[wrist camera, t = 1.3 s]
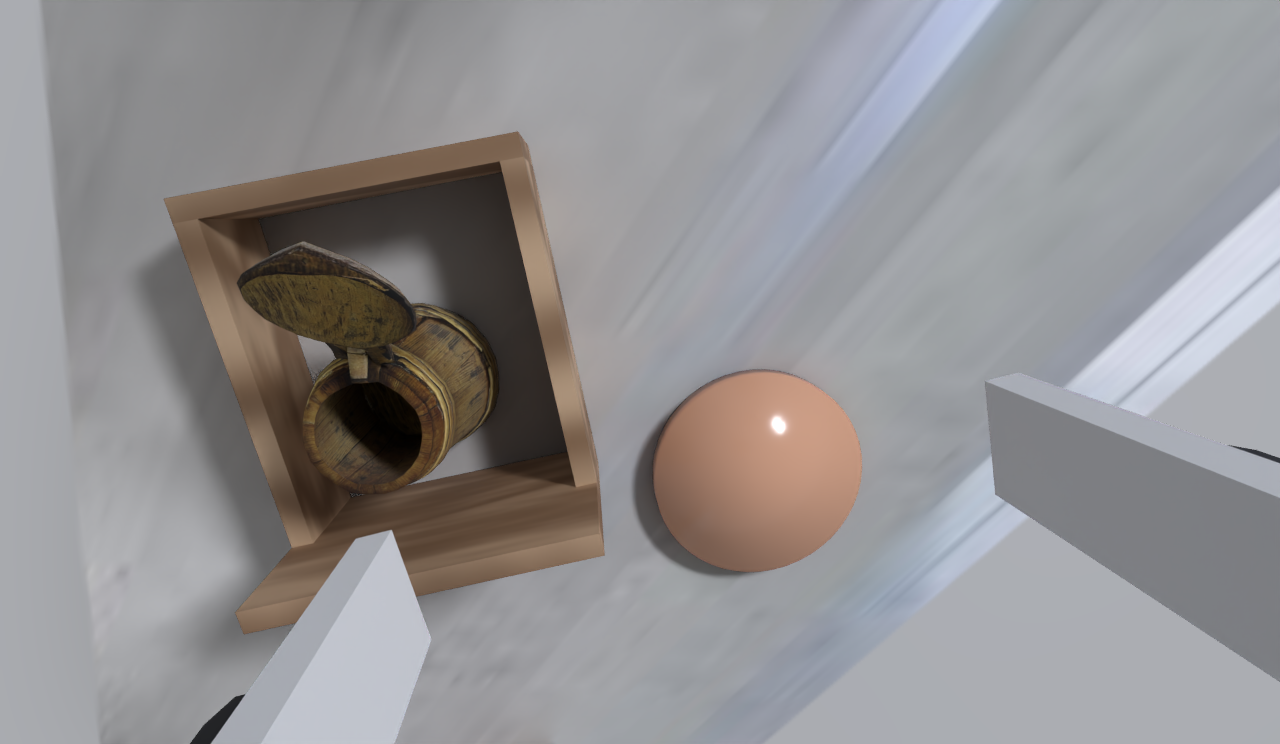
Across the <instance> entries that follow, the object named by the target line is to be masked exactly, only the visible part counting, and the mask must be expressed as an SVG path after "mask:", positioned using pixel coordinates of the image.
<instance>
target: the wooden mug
mask: <svg viewBox="0 0 1280 744" xmlns="http://www.w3.org/2000/svg"><path fill="white" fill-rule="evenodd" d="M237 285H238V287H239V290H240V292H241V294H242V297H243V299H244V301H245V302H246V303H247V304H248V305H249V306H250V307H251V308H252V309H253V310H254V311H256V312H257V313H258V314H259V315H260V316H262V317H263V318H264V319H265V320H267V321H269V322H271V323H273V324H275V325H277V326H279V327H281V328H283V329H285V330H288V331H290V332H292V333H295V334H297V335H300V336H304V337H307V338H311V339H314V340H317V341H321V342H325V343H326V344H327V345H328V346H329V347H330V348H331V349H332V351H333V353H334V355H335V358H337V359H335V360H334V361H332V362H331V363H330V364H329V365H328V366H327V367H326V368H325V369H324V370H323V371H322V372H321V373H320V374H319V376H318V378H317V380H316V382H315V385H314V387H313V389H312V391H311V393H310V396H309V398H308V401H307V405H306V408H305V410H304V417H303V424H302V426H303V443H304V446H305V449H306V451H307V454H308V457H309V460H310V462H311V463H312V464H313V465H314V466H315V468H316V469H317V470H318V471H319V472H320V473H321V474H322V475H324V476H325V477H326V478H328V479H329V480H330V481H332V482H333V483H334V484H336V485H338V486H339V487H341V488H343V489H345V490H347V491H349V492H351V493H358V494H386V493H389V492H392V491H396V490H399V489H401V488H402V487H404V486H406V485H408V484H411V483H413V482H415V481H417V480H419V479H421V478H423V477H425V476H426V475H428V474H429V473H430V472H432V471H433V470H434V469H435V468H436V467H437V466H438V465H439V464H440V463H441V462H442V461H443V459H444V458H445V456H446V454H447V452H448V451H449V449H450V448H451V447H452V446H453V445H455V444H456V443H457V442H459V441H461V440H463V439H465V438H467V437H468V436H470V435H471V434H473V433H474V432H475V431H476V430H477V429H478V428H479V427H480V426H481V425H482V424H483V423H484V422H486V420H487V419H488V417H489V416H490V414H491V413H492V411H493V409H494V408H495V405H496V401H497V396H498V392H499V377H498V368H497V364H496V359H495V357H494V354H493V352H492V350H491V348H490V346H489V344H488V342H487V340H486V338H485V337H484V336H483V335H482V334H481V333H480V332H479V330H478V329H477V328H476V327H475V326H474V325H473V324H472V323H471V322H469V321H468V320H466V319H464V318H462V317H461V316H459V315H457V314H455V313H454V312H451V311H449V310H446V309H443V308H440V307H437V306H434V305H429V304H424V303H416V304H410V302H409V301H408V300H407V298H406V297H405V296H404V295H403V293H402V292H401V291H400V290H399V289H398V288H397V287H396V286H395V285H393V284H392V283H391V282H389V281H388V280H387V279H386V278H384V277H382V276H381V275H379V274H378V273H376V272H375V271H373V270H372V269H370V268H368V267H366V266H364V265H362V264H361V263H359V262H357V261H355V260H353V259H351V258H348V257H345V256H343V255H340V254H337V253H334V252H332V251H329V250H326V249H323V248H321V247H318V246H315V245H312V244H310V243H307V242H304V241H303V242H300V243H297V244H295V245H292V246H289V247H287V248H284V249H282V250H280V251H278V252H276V253H274V254H272V255H271V256H269V257H267V258H265V259H264V260H262V261H260V262H258V263H257V264H255V265H254V266H252V267H251V268H249V269H248V270H246V271H245V272H243V273H242V274H241V276H240V278H239V279H238V281H237Z"/></svg>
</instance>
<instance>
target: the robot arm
mask: <svg viewBox="0 0 1280 744" xmlns="http://www.w3.org/2000/svg"><path fill="white" fill-rule="evenodd" d="M985 389H986V399H987V410H988V421H989V431H990V442H991V453H992V463H993V474H994V485H995V494H996V495H997V496H999V497H1000V498H1002V499H1003V500H1005V501H1006V502H1008V503H1009V504H1011V505H1012V506H1014V507H1015V508H1017V509H1018V510H1020V511H1021V512H1023V513H1024V514H1026V515H1027V516H1029V517H1030V518H1032V519H1033V520H1035V521H1037V522H1038V523H1040V524H1041V525H1043V526H1044V527H1046V528H1047V529H1049V530H1050V531H1052V532H1053V533H1055V534H1056V535H1058V536H1059V537H1061V538H1062V539H1064V540H1065V541H1067V542H1068V543H1070V544H1071V545H1073V546H1075V547H1076V548H1078V549H1079V550H1080V551H1082V552H1084V553H1085V554H1087V555H1088V556H1090V557H1091V558H1093V559H1095V560H1096V561H1097V562H1099V563H1100V564H1102V565H1103V566H1105V567H1106V568H1108V569H1109V570H1111V571H1112V572H1114V573H1115V574H1117V575H1119V576H1120V577H1121V578H1123V579H1125V580H1126V581H1128V582H1129V583H1131V584H1132V585H1134V586H1135V587H1137V588H1138V589H1140V590H1141V591H1143V592H1144V593H1146V594H1147V595H1149V596H1150V597H1152V598H1154V599H1155V600H1157V601H1158V602H1159V603H1161V604H1162V605H1164V606H1166V607H1167V608H1169V609H1170V610H1172V611H1173V612H1175V613H1176V614H1178V615H1179V616H1181V617H1182V618H1184V619H1185V620H1187V621H1188V622H1190V623H1191V624H1193V625H1194V626H1196V627H1197V628H1199V629H1200V630H1202V631H1203V632H1205V633H1207V634H1208V635H1209V636H1211V637H1213V638H1214V639H1216V640H1217V641H1219V642H1220V643H1222V644H1223V645H1225V646H1226V647H1228V648H1229V649H1231V650H1232V651H1234V652H1235V653H1237V654H1238V655H1240V656H1241V657H1243V658H1244V659H1246V660H1247V661H1249V662H1251V663H1252V664H1253V665H1255V666H1257V667H1258V668H1260V669H1261V670H1263V671H1264V672H1266V673H1267V674H1269V675H1270V676H1272V677H1273V678H1275V679H1276V680H1278V681H1279V682H1280V458H1278V457H1275V456H1271V455H1269V454H1266V453H1263V452H1260V451H1257V450H1252V449H1247V448H1241V447H1236V446H1230V445H1225V444H1222V443H1219V442H1217V441H1214V440H1211V439H1208V438H1205V437H1202V436H1199V435H1196V434H1193V433H1191V432H1188V431H1185V430H1182V429H1179V428H1176V427H1173V426H1171V425H1168V424H1165V423H1162V422H1159V421H1156V420H1153V419H1150V418H1147V417H1145V416H1142V415H1139V414H1136V413H1133V412H1130V411H1127V410H1124V409H1122V408H1119V407H1116V406H1113V405H1110V404H1107V403H1104V402H1101V401H1098V400H1096V399H1093V398H1090V397H1087V396H1084V395H1081V394H1078V393H1075V392H1072V391H1070V390H1067V389H1064V388H1061V387H1058V386H1055V385H1052V384H1049V383H1047V382H1044V381H1041V380H1038V379H1035V378H1032V377H1029V376H1026V375H1023V374H1021V373H1015V374H1011V375H1007V376H1003V377H999V378H995V379H991V380H987V381H985ZM430 642H431V637H430V634H429V632H428V629H427V626H426V623H425V621H424V618H423V615H422V612H421V609H420V607H419V604H418V601H417V598H416V596H415V593H414V590H413V587H412V585H411V582H410V579H409V576H408V574H407V571H406V568H405V565H404V563H403V560H402V557H401V554H400V552H399V549H398V546H397V543H396V541H395V538H394V535H393V532H392V530H389V531H385V532H381V533H377V534H373V535H369V536H365V537H361V538H357V539H355V541H354V542H353V543H352V545H351V546H350V548H349V549H348V550H347V552H346V553H345V555H344V556H343V558H342V559H341V560H340V562H339V563H338V565H337V566H336V567H335V569H334V570H333V572H332V573H331V574H330V576H329V577H328V579H327V580H326V582H325V583H324V584H323V586H322V587H321V589H320V590H319V591H318V593H317V594H316V596H315V597H314V599H313V600H312V601H311V603H310V604H309V606H308V607H307V608H306V610H305V611H304V613H303V614H302V615H301V617H300V618H299V620H298V621H297V623H296V624H295V625H294V627H293V628H292V630H291V631H290V632H289V634H288V635H287V637H286V638H285V640H284V641H283V642H282V644H281V645H280V647H279V648H278V649H277V651H276V652H275V654H274V655H273V657H272V658H271V659H270V661H269V662H268V664H267V665H266V666H265V668H264V669H263V671H262V672H261V673H260V675H259V676H258V678H257V679H256V681H255V682H254V683H253V685H252V686H251V688H250V689H249V690H248V692H247V693H246V694H245V695H241V696H237V697H235V698H233V699H232V700H231V701H230V702H229V703H228V704H227V705H226V706H224V707H223V708H222V709H221V710H220V711H219V712H218V713H217V714H216V715H214V716H213V717H212V718H211V719H210V720H209V721H208V722H207V723H206V724H204V726H203V727H202V728H201V730H200V731H199V732H198V734H197V735H196V736H195V738H194V739H193V740H192V742H191V743H190V744H394V743H395V740H396V738H397V735H398V732H399V729H400V726H401V724H402V721H403V718H404V715H405V712H406V710H407V707H408V704H409V701H410V698H411V696H412V693H413V690H414V687H415V684H416V681H417V679H418V676H419V673H420V670H421V667H422V665H423V662H424V659H425V656H426V653H427V651H428V648H429V645H430Z"/></svg>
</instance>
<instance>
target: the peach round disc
mask: <svg viewBox="0 0 1280 744" xmlns="http://www.w3.org/2000/svg"><path fill="white" fill-rule="evenodd" d="M861 473H862V455H861V449H860V444H859V440H858V437H857V434H856V431H855V429H854V427H853V425H852V423H851V421H850V419H849V418H848V416H847V415H846V414H845V412H844V411H843V409H842V408H841V407H840V406H839V405H838V404H837V403H836V402H835V401H834V400H833V399H832V398H831V397H830V396H828V395H827V394H826V393H824V392H823V391H822V390H820V389H819V388H818V387H816V386H815V385H813V384H811V383H810V382H808V381H806V380H805V379H802V378H800V377H797V376H795V375H793V374H789V373H785V372H781V371H775V370H766V369H762V370H746V371H739V372H735V373H732V374H728V375H725V376H722V377H720V378H718V379H715V380H713V381H711V382H709V383H707V384H706V385H704V386H702V387H700V388H699V389H698V390H696V391H695V392H694V393H692V394H691V395H690V396H689V397H688V398H687V399H685V400H684V401H683V402H682V403H681V404H680V405H679V406H678V408H677V409H676V410H675V411H674V413H673V414H672V415H671V417H670V418H669V420H668V421H667V423H666V425H665V426H664V428H663V430H662V433H661V435H660V437H659V439H658V443H657V446H656V449H655V453H654V460H653V485H654V492H655V495H656V499H657V503H658V506H659V510H660V513H661V515H662V518H663V520H664V522H665V524H666V526H667V527H668V529H669V530H670V532H671V534H672V535H673V536H674V537H675V539H676V540H677V541H678V542H679V543H680V544H681V545H682V546H683V547H684V548H685V549H686V550H688V551H689V552H690V553H691V554H693V555H694V556H696V557H697V558H699V559H701V560H703V561H705V562H707V563H709V564H711V565H714V566H717V567H720V568H723V569H728V570H733V571H742V572H759V571H767V570H773V569H777V568H780V567H784V566H787V565H790V564H792V563H794V562H797V561H799V560H801V559H803V558H805V557H806V556H808V555H810V554H812V553H813V552H814V551H816V550H817V549H819V548H820V547H821V546H822V545H824V544H825V543H826V542H827V541H828V540H829V539H830V538H831V537H832V536H833V535H834V534H835V533H836V532H837V530H838V529H839V528H840V527H841V525H842V524H843V522H844V521H845V520H846V518H847V517H848V515H849V513H850V511H851V509H852V507H853V505H854V502H855V500H856V497H857V494H858V491H859V486H860V482H861Z"/></svg>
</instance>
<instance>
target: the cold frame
mask: <svg viewBox="0 0 1280 744" xmlns="http://www.w3.org/2000/svg"><path fill="white" fill-rule="evenodd" d="M499 172H502V173H503V177H504V181H505V186H506V190H507V194H508V198H509V203H510V207H511V211H512V215H513V220H514V224H515V228H516V233H517V237H518V241H519V245H520V250H521V254H522V258H523V263H524V267H525V271H526V275H527V280H528V284H529V288H530V292H531V297H532V301H533V305H534V310H535V314H536V318H537V322H538V327H539V331H540V335H541V339H542V344H543V348H544V352H545V357H546V361H547V365H548V369H549V374H550V378H551V382H552V387H553V391H554V395H555V399H556V404H557V408H558V412H559V416H560V421H561V425H562V429H563V434H564V438H565V442H566V446H567V451H568V452H564V453H559V454H554V455H550V456H545V457H540V458H535V459H531V460H526V461H521V462H516V463H512V464H507V465H502V466H497V467H493V468H488V469H483V470H479V471H474V472H469V473H464V474H460V475H455V476H450V477H445V478H441V479H436V480H431V481H427V482H422V483H417V484H412V485H408V486H404V487H402V488H401V489H399V490H396V491H392V492H389V493H386V494H365V495H360V496H356V497H351V496H350V493H349V491H347V490H345V489H343V488H341V487H339V486H338V485H336V484H334V483H333V482H332V481H330V480H329V479H328V478H326V477H325V476H324V475H322V474H321V473H320V472H319V471H318V470H317V469H316V468H315V466H314V465H313V464H312V463H311V462H310V460H309V457H308V454H307V451H306V449H305V446H304V443H303V426H302V424H303V417H304V410H305V408H306V405H307V401H308V398H309V396H310V393H311V391H312V389H313V387H314V385H313V382H312V379H311V376H310V373H309V370H308V367H307V364H306V361H305V358H304V355H303V352H302V349H301V346H300V343H299V340H298V337H297V334H295V333H292V332H290V331H288V330H285V329H283V328H281V327H279V326H277V325H275V324H273V323H271V322H269V321H267V320H265V319H264V318H263V317H262V316H260V315H259V314H258V313H257V312H256V311H254V310H253V309H252V308H251V307H250V306H249V305H248V304H247V303H246V302H245V301H244V299H243V297H242V294H241V292H240V290H239V287H238V285H237V281H238V279H239V278H240V276H241V274H242V273H243V272H245V271H246V270H248V269H249V268H251V267H252V266H254V265H255V264H257V263H258V262H260V261H262V260H264V259H265V258H267V257H269V256H270V253H269V250H268V247H267V244H266V241H265V238H264V235H263V232H262V229H261V226H260V223H259V220H258V219H260V218H265V217H270V216H275V215H281V214H286V213H291V212H296V211H302V210H307V209H312V208H317V207H322V206H328V205H333V204H338V203H343V202H348V201H354V200H359V199H364V198H369V197H374V196H380V195H385V194H390V193H395V192H400V191H406V190H411V189H416V188H421V187H426V186H432V185H437V184H442V183H447V182H453V181H458V180H463V179H468V178H473V177H479V176H484V175H489V174H494V173H499ZM164 201H165V204H166V207H167V209H168V212H169V215H170V217H171V220H172V223H173V226H174V228H175V231H176V234H177V236H178V239H179V242H180V245H181V247H182V250H183V253H184V256H185V258H186V261H187V264H188V266H189V269H190V272H191V275H192V277H193V280H194V283H195V285H196V288H197V291H198V294H199V296H200V299H201V302H202V305H203V307H204V310H205V313H206V315H207V318H208V321H209V324H210V326H211V329H212V332H213V334H214V337H215V340H216V343H217V345H218V348H219V351H220V353H221V356H222V359H223V362H224V364H225V367H226V370H227V373H228V375H229V378H230V381H231V383H232V386H233V389H234V392H235V394H236V397H237V400H238V402H239V405H240V408H241V411H242V413H243V416H244V419H245V421H246V424H247V427H248V430H249V432H250V435H251V438H252V441H253V443H254V446H255V449H256V451H257V454H258V457H259V460H260V462H261V465H262V468H263V470H264V473H265V476H266V479H267V481H268V484H269V487H270V489H271V492H272V495H273V498H274V500H275V503H276V506H277V509H278V511H279V514H280V517H281V519H282V522H283V525H284V528H285V530H286V533H287V536H288V538H289V541H290V544H291V547H292V548H291V549H290V551H289V552H288V553H287V554H286V555H285V556H284V557H283V559H282V560H281V561H280V562H279V563H278V564H277V565H276V567H275V568H274V569H273V570H272V571H271V572H270V573H269V575H268V576H267V577H266V578H265V579H264V580H263V581H262V583H261V584H260V585H259V586H258V587H257V588H256V589H255V591H254V592H253V593H252V594H251V595H250V596H249V597H248V598H247V600H246V601H245V602H244V603H243V604H242V605H241V606H240V608H239V609H238V610H237V611H236V612H235V614H236V616H237V619H238V621H239V623H240V626H241V628H242V631H243V633H244V634H248V633H252V632H257V631H261V630H266V629H270V628H275V627H280V626H284V625H289V624H293V623H297V621H298V620H299V618H300V617H301V615H302V614H303V613H304V611H305V610H306V608H307V607H308V606H309V604H310V603H311V601H312V600H313V599H314V597H315V596H316V594H317V593H318V591H319V590H320V589H321V587H322V586H323V584H324V583H325V582H326V580H327V579H328V577H329V576H330V574H331V573H332V572H333V570H334V569H335V567H336V566H337V565H338V563H339V562H340V560H341V559H342V558H343V556H344V555H345V553H346V552H347V550H348V549H349V548H350V546H351V545H352V543H353V542H354V541H355V539H357V538H361V537H365V536H369V535H373V534H377V533H381V532H385V531H389V530H392V532H393V535H394V538H395V541H396V543H397V546H398V549H399V552H400V554H401V557H402V560H403V563H404V565H405V568H406V571H407V574H408V576H409V579H410V582H411V585H412V587H413V590H414V593H415V596H416V597H417V596H421V595H426V594H431V593H435V592H440V591H444V590H449V589H453V588H458V587H463V586H467V585H472V584H476V583H481V582H485V581H490V580H495V579H499V578H504V577H508V576H513V575H517V574H522V573H527V572H531V571H536V570H540V569H545V568H549V567H554V566H559V565H563V564H568V563H572V562H577V561H581V560H586V559H591V558H595V557H600V556H604V540H603V525H602V511H601V496H600V481H599V466H598V459H597V455H596V450H595V446H594V441H593V437H592V432H591V428H590V423H589V419H588V414H587V410H586V405H585V401H584V396H583V392H582V387H581V383H580V378H579V374H578V369H577V365H576V360H575V356H574V351H573V347H572V342H571V337H570V333H569V328H568V324H567V319H566V315H565V310H564V306H563V301H562V297H561V292H560V288H559V283H558V279H557V274H556V270H555V265H554V261H553V256H552V252H551V247H550V243H549V238H548V234H547V229H546V225H545V220H544V216H543V211H542V207H541V202H540V198H539V193H538V189H537V184H536V180H535V175H534V171H533V166H532V162H531V157H530V153H529V148H528V145H527V143H526V142H525V141H524V139H523V138H522V137H521V135H520V134H519V132H513V133H508V134H503V135H497V136H492V137H487V138H482V139H476V140H471V141H466V142H460V143H455V144H450V145H445V146H439V147H434V148H429V149H423V150H418V151H413V152H408V153H402V154H397V155H392V156H387V157H381V158H376V159H371V160H365V161H360V162H355V163H350V164H344V165H339V166H334V167H329V168H323V169H318V170H313V171H307V172H302V173H297V174H292V175H286V176H281V177H276V178H271V179H265V180H260V181H255V182H249V183H244V184H239V185H234V186H228V187H223V188H218V189H213V190H207V191H202V192H197V193H191V194H186V195H181V196H176V197H170V198H165V199H164Z"/></svg>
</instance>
